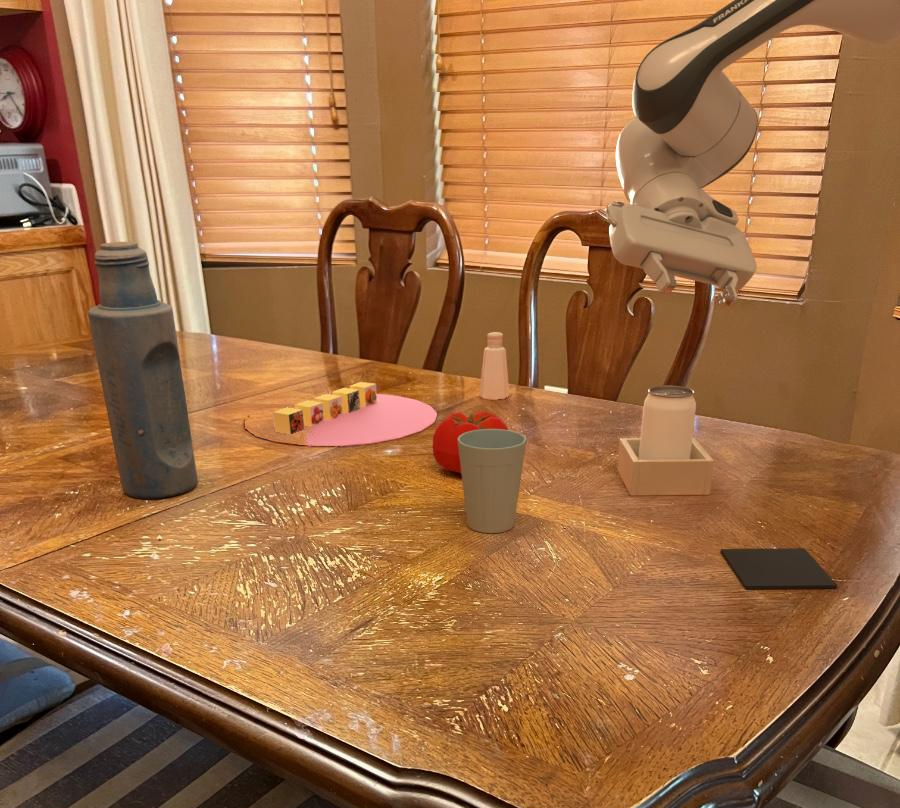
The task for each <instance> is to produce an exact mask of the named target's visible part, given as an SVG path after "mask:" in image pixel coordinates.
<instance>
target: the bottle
mask: <svg viewBox="0 0 900 808" xmlns="http://www.w3.org/2000/svg"><path fill="white" fill-rule="evenodd" d="M94 265H95V266H96V267H95V268H96V271H97V276H98V291H99V292H98V294H99V301H100V303H99V304H98V305H95V306H92V307H91V308H89V309H88V311H87V316H88V323H89V330H90V335H91V339H92V343H93V344H92V345H93V348H94V352H95V357H96V363H97V368H98V372H99V373H98V374H99V377H100V382H101V388H102V394H103V398H104V399H103V400H104V403H105V407H106V413H107V418H108V424H109V428H110V434H111V440H112V444H113V445H112V446H113V450H114V455H115V459H116V464H117V469H118V474H119V479H120V484H121V489H122V492H123V493H124V494H126V495H127V496H130V497H132V498H136V499H143V500H145V499H146V500H157V499H158V500H159V499H165V498H171V496H172V497H176V495H177V496H180V495H183V494H185V493H188V492H190V491H192V490H193V489H194V488H195V487H196V486H197V485H198V481H199V480H198V473H197V467H196V460H195V459H196V458H195V454H194V446H193V440H192V439H193V438H192V432H191V426H190V419H189V411H188V405H187V404H188V403H187V398H186V397H187V396H186V391H185V384H184V379H183V378H184V377H183V372H182V371H183V370H182V366H181V358H180V351H179V343H178V338H177V329H176V324H175V317H174V311H173V307H172V306H171V305H170V304H169V303H166V302H162V301H161V300H159V299H158V296H157V295H158V294H157V291H156V288H155V285H154V282H153V279H152V275H151V272H150V261H149V257H148V254H147V252H146V250H145V249H143V248H141V247H139V244H138V243H137V242H135V241H115V242H114V241H113V242H105V243H104V242H103V243H102V244H100V249H98V251H96V252H95V253H94ZM179 494H180V495H179Z"/></svg>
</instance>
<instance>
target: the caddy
mask: <svg viewBox="0 0 900 808" xmlns="http://www.w3.org/2000/svg"><path fill="white" fill-rule="evenodd" d="M639 448H640V437H619V442H618V453H617V454H618V456H617V466H616V467H617V468H616V471H617V473H618V474H619V477H620V478H621V480H622V483H623V484H624V486H625V488H626V490H627V491H628V493H629V496H631V497H634V496H637V497H640V496H641V497H642V496H643V497H644V496H645V497H646V496H649V497H650V496H710V495H711V488H712V482H713V481H712V480H713V473H714V467H715V466H714V464H715V460H714V459H713V458H712V456H711V455H710V454H709V453H708V451H706V449H704V447H703V446H702V445H701V444H700V442H699V441H698V440H697V439H696V438H695V437H694V436H693V438H692V446H691V454H690V459H666V460H638V459H639Z"/></svg>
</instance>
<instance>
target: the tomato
mask: <svg viewBox="0 0 900 808" xmlns="http://www.w3.org/2000/svg"><path fill="white" fill-rule="evenodd" d="M481 429H503V430H509V427H508V426H507V424H506V423H505V422H504V421H503V419H502V418H500V417H499V416H498V415H497V414H496V413H493V412H491V411H485V410H482V411H477V412H475V413H473V412H470V414H469V416H466V415H465V414H464V413H462V412H461V411H456V412H453V413H451V414H449V415H448V416H446V418H445V419H443V420H442V421H441V422H440V424H438V425H437V426H436V427H435V430H434V432H433V435H432V454H433V457H434V460H435V461H436V463H437V464H438V465H440V466H441V468H443V469H444V470H447V471H448V472H456V473H458V474H461V475H462V473H461V464H460V456H459V448H458V437H459V436H460V435H461V434H463V433H466V432H469V431H474V430H481Z"/></svg>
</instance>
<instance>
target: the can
mask: <svg viewBox="0 0 900 808" xmlns="http://www.w3.org/2000/svg"><path fill="white" fill-rule="evenodd" d="M647 392H648V393H647V396H646V397H645V399H644V402H643V407H642V417H641V427H640V437H639V438H640V448H639V459H638V460H666V459H690V454H691V446H692V438H693V437H694V436H693V435H694V428H695V422H696V421H695V420H696V419H695V418H696V413H697V411H696V410H697V402H696V400H695V397H694V394H695V391H694V389H691V388H690V387H685V386H679V385H657V386H651V387H650V388H649V389H648V390H647Z"/></svg>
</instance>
